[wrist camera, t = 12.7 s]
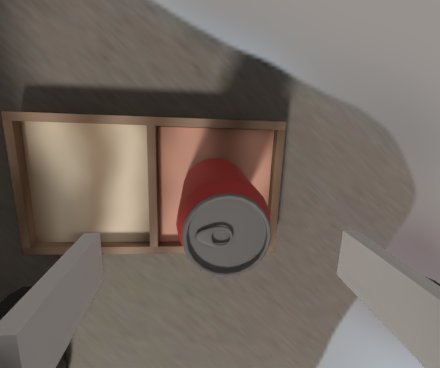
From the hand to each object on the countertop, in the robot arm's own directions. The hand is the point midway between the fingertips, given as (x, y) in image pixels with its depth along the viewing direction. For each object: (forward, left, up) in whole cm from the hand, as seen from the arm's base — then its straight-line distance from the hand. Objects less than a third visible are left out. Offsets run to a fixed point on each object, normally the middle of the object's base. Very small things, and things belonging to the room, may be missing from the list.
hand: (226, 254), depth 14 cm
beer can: (0, 0, -14) cm, 14 cm away
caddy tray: (-6, 0, -16) cm, 17 cm away
